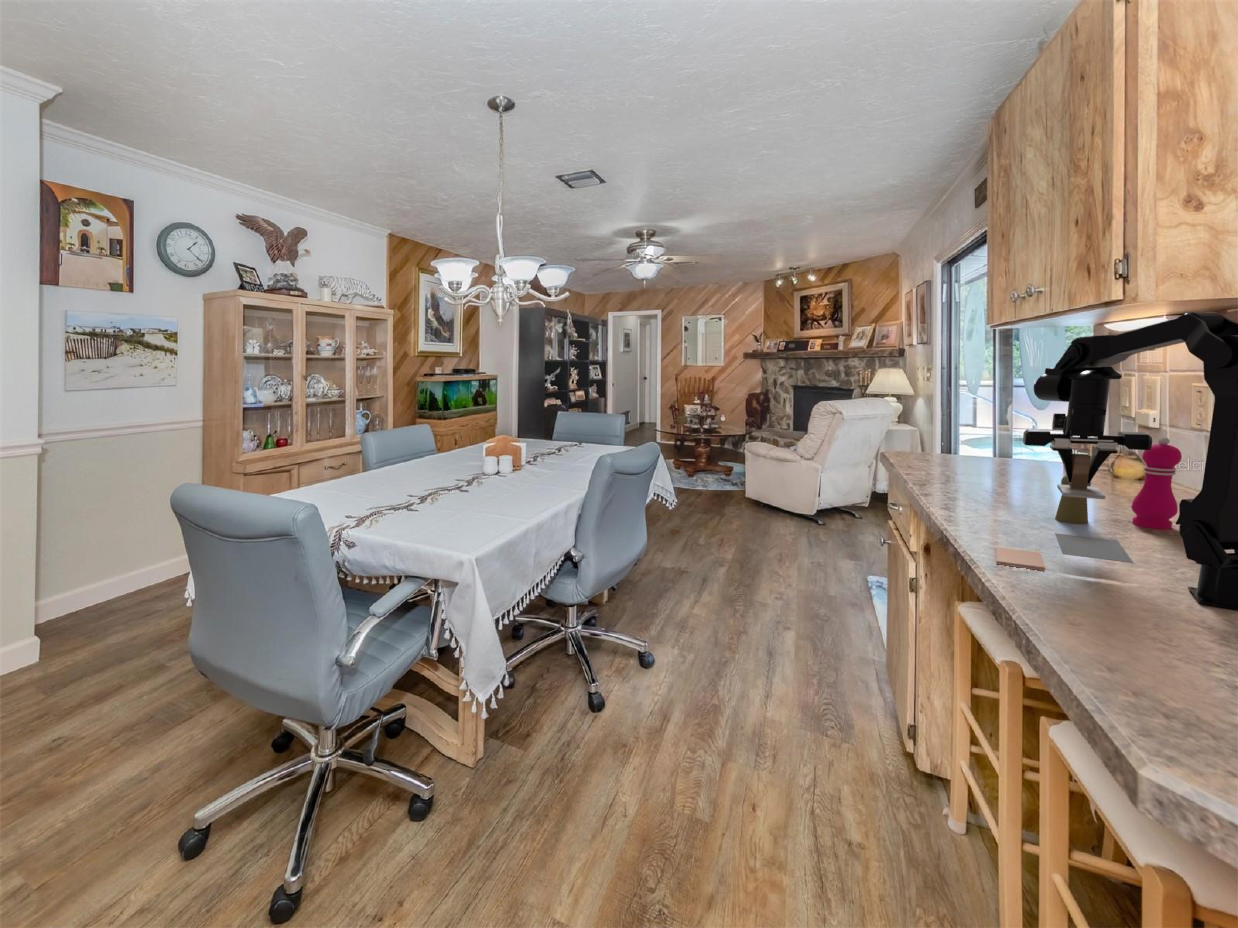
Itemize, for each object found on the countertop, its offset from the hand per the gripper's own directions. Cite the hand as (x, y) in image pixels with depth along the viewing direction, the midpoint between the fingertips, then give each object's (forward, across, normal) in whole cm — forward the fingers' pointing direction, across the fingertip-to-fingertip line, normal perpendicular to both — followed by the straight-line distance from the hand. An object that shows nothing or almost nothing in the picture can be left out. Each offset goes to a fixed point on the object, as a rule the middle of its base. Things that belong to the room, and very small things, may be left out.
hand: (1078, 482), depth 109 cm
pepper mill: (+13, -16, -22) cm, 31 cm away
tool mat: (+13, -3, +1) cm, 13 cm away
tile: (+13, +10, +11) cm, 19 cm away
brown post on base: (+2, 0, +3) cm, 3 cm away
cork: (+13, -2, -20) cm, 24 cm away
